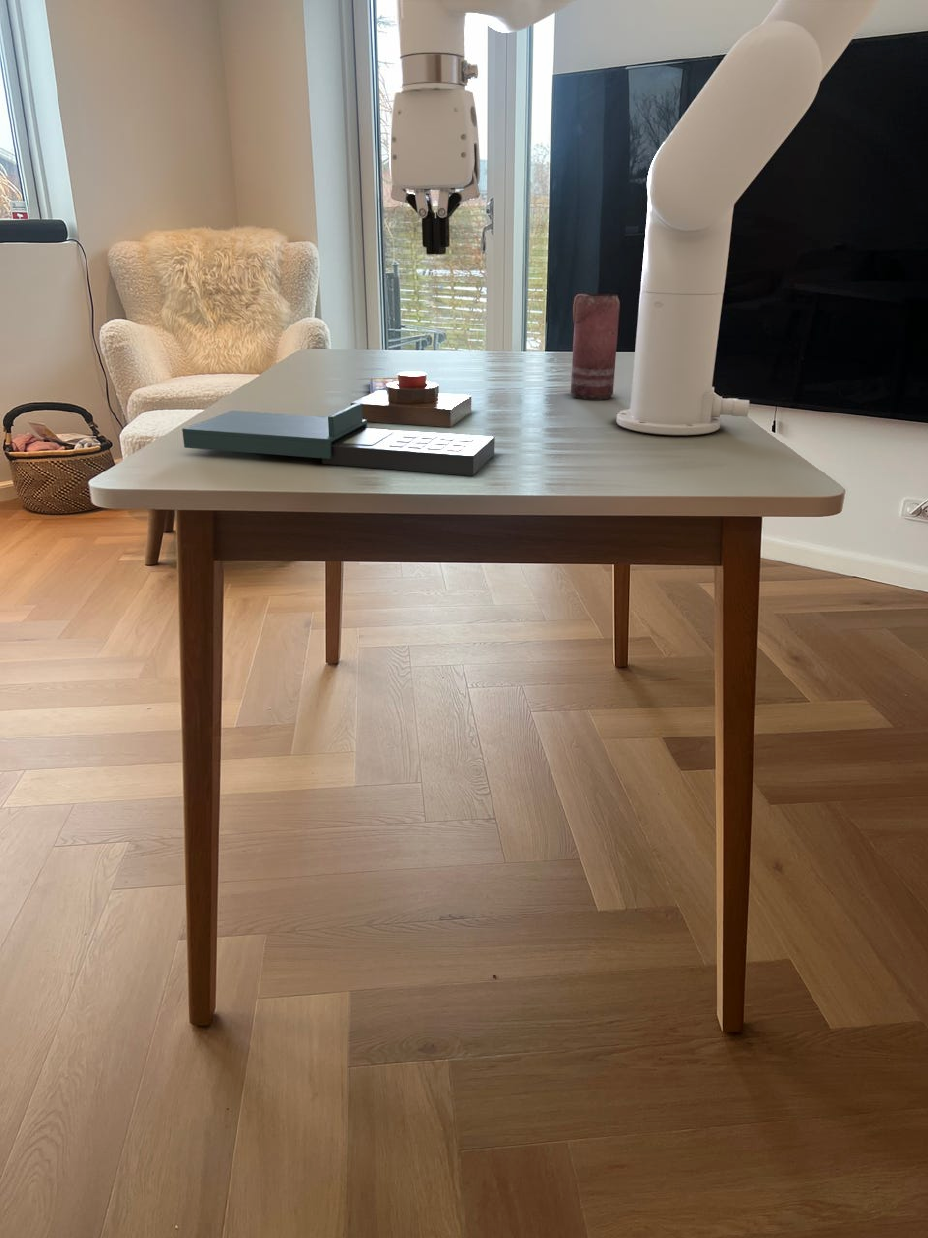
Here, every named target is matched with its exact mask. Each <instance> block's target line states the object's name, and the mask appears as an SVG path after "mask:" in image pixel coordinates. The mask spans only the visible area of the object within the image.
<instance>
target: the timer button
mask: <svg viewBox="0 0 928 1238" xmlns="http://www.w3.org/2000/svg"><path fill="white" fill-rule="evenodd" d="M397 378H398V386H399V387H408V388H416V387H426V381H427V373H426V372H424V371H423V372H422V371H402V372H399V373H397Z"/></svg>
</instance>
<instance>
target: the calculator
mask: <svg viewBox="0 0 928 1238" xmlns="http://www.w3.org/2000/svg"><path fill="white" fill-rule="evenodd" d="M495 440H496V439H495V436H487V435H470V434H456V433H443V432H442V433H441V432H429V431H428V432H426V431H413V430H412V431H411V430H397V429H383V428H369V427H367V428H357V429H355V430H353V431H351V432H349V433H347V434H345V435H344V436H342V437H340V438H338V439H336V440H334V441H332V442H330V443H331V456H332V458H331V459H325V458H321V462H322V465H330V466H341V467H342V466H343V467H354V468H355V467H356V468H368V469H380V470H393V471H405V472H419V473H429V474H431V473H433V474H443V475H444V474H445V475H456V476H466V477H467V476H468V477H473V476H475V475H476V474H477V473H478V472H479V471H480V470H481V469H482V468H483V467H484V466H485V465H486V464H487V463H488V462H489V461H490V460H491V459H492V458H493V457H494V456H495V444H496V443H495V442H496V441H495Z"/></svg>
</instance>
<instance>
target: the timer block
mask: <svg viewBox="0 0 928 1238" xmlns="http://www.w3.org/2000/svg"><path fill="white" fill-rule="evenodd" d="M439 389H440V385H439V384H438V383H436V382H431V381H427V380H426V387H416V388H408V387H399V386H398V382H391V383H389V384H386V391H382V390H378V391H376V392H374V393H372V394H371V393H369V394H367V395H365V396H363V397H360V398H358V399H356V400H354V401H352V402H350V406H352V405H354V404H356V403H362V417H363V419H367V423H378V424H379V423H380V424H395V425H409V426H410V425H412V426H424V427H425V426H426V427H428V426H429V427H441V428H451V427H453V426H454V425H455V424H457V423H458V422H460V421H461V420H463V419H464V418H465V417H467V416H469V415H470V414H471V413H472V395H469V394H468V395H467V394H451V393H439V392H440V391H439Z"/></svg>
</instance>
